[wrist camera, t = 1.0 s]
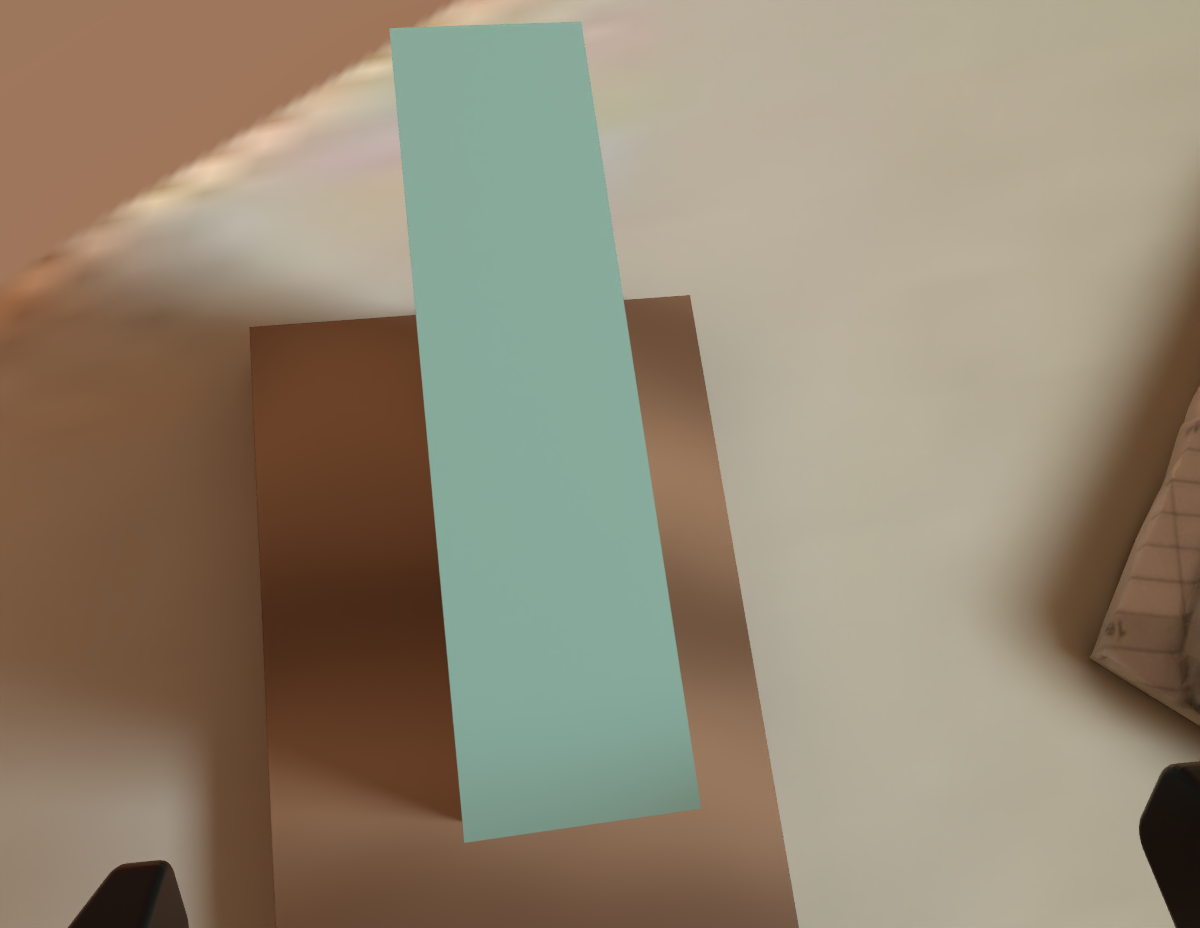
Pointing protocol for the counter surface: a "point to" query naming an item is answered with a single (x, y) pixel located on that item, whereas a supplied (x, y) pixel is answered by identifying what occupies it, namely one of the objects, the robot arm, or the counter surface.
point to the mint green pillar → (535, 440)
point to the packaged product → (1163, 589)
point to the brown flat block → (421, 677)
